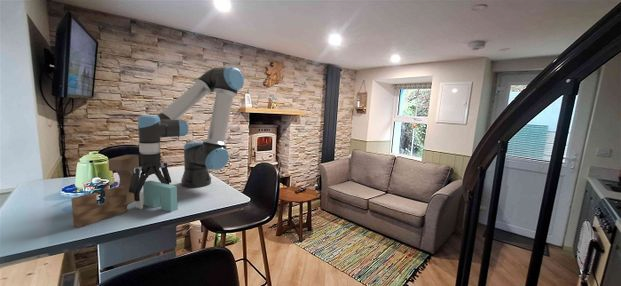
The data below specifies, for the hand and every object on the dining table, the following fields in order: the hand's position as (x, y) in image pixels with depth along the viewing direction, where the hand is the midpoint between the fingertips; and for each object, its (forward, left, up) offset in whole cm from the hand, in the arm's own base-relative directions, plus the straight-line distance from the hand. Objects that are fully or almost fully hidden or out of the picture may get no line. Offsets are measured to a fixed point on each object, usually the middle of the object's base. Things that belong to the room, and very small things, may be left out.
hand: (152, 203), depth 110 cm
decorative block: (+9, -9, -1) cm, 13 cm away
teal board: (-3, +4, -1) cm, 5 cm away
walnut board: (+16, +5, -1) cm, 17 cm away
